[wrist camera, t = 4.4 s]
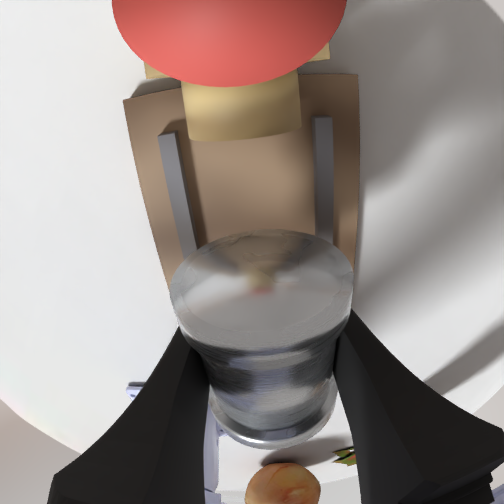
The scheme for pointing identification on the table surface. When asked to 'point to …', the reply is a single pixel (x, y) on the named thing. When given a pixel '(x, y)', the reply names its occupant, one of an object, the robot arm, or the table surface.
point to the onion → (283, 485)
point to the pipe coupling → (266, 330)
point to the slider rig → (241, 122)
